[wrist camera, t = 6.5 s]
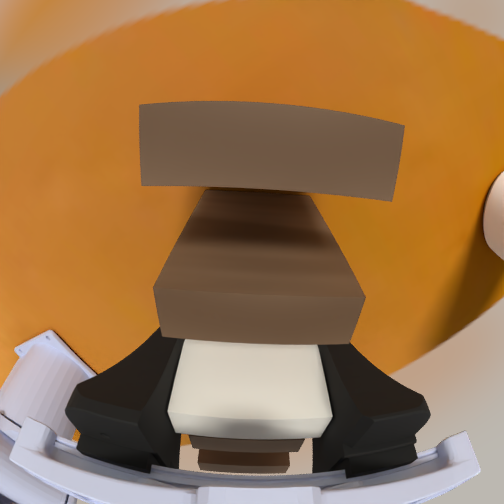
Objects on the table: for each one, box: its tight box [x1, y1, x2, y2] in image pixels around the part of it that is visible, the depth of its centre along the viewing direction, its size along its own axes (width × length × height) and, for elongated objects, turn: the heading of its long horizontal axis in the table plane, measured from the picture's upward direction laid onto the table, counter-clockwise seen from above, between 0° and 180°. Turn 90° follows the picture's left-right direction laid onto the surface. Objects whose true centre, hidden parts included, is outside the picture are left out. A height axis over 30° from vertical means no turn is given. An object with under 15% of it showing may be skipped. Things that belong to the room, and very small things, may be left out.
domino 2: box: [153, 190, 366, 345], centre depth 10 cm, size 2×5×8 cm, turn 87°
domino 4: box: [189, 434, 305, 453], centre depth 14 cm, size 2×5×8 cm, turn 87°
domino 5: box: [198, 449, 290, 473], centre depth 16 cm, size 2×5×8 cm, turn 87°
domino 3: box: [167, 339, 333, 439], centre depth 11 cm, size 2×5×8 cm, turn 87°
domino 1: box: [139, 101, 405, 202], centre depth 8 cm, size 2×5×8 cm, turn 87°
